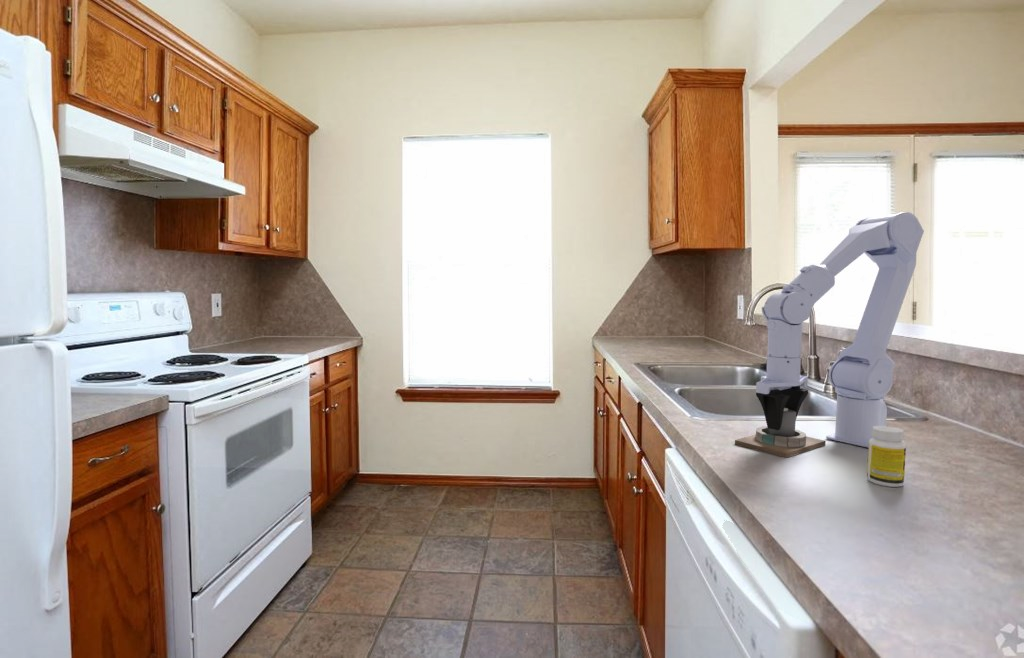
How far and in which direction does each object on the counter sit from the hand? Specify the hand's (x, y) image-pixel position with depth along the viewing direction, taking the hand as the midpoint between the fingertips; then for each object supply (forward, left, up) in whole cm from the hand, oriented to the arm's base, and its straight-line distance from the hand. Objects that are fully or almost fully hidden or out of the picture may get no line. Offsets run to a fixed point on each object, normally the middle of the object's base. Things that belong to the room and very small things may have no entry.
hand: (780, 427), depth 103 cm
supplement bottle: (+6, +20, -4) cm, 21 cm away
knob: (0, 0, -2) cm, 2 cm away
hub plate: (0, 0, -3) cm, 3 cm away
